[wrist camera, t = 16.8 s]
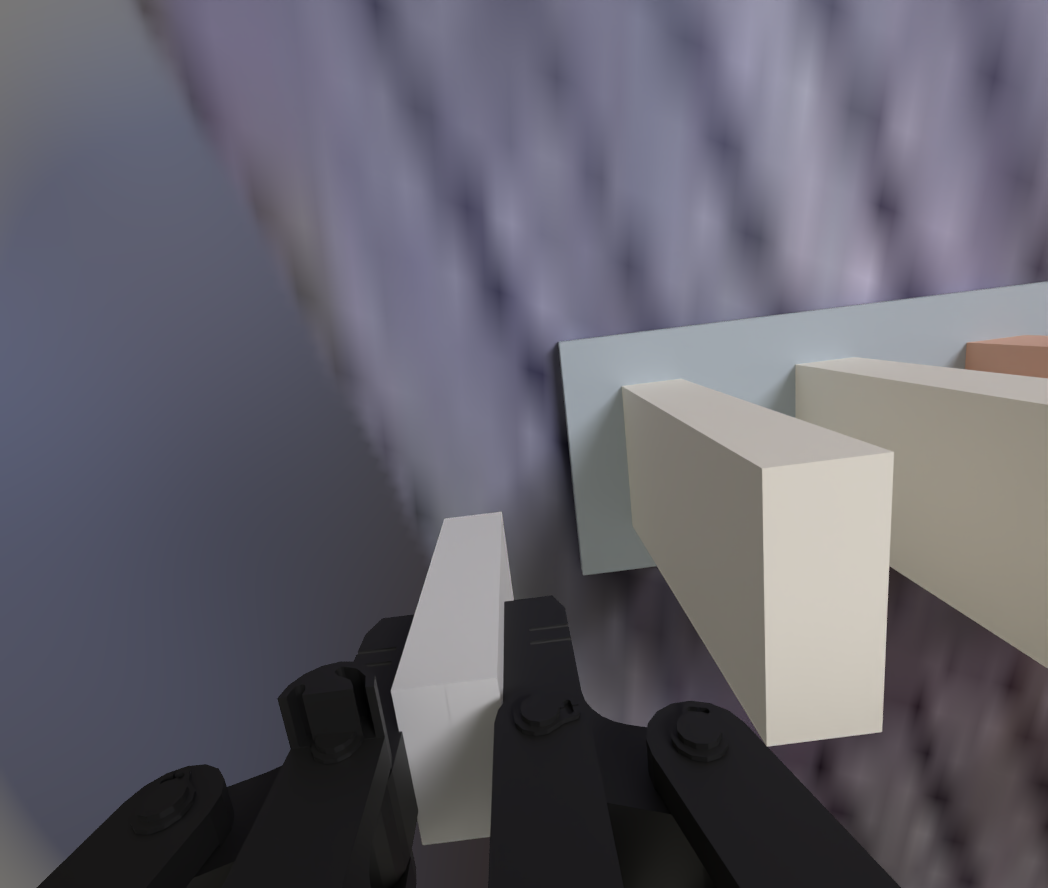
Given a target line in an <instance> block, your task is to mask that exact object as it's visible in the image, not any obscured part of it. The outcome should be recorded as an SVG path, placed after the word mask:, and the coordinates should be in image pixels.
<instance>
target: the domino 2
mask: <svg viewBox="0 0 1048 888" xmlns="http://www.w3.org/2000/svg"><path fill="white" fill-rule="evenodd" d="M965 369H967V370H976V371H985V372H994V373H1003V374H1012V375H1021V376H1030V377H1039V378H1048V336H1042V335H1022V336H1014V337H1006V338H999V339H991V340H983V341H975V342H968V343H967V345H966V360H965Z"/></svg>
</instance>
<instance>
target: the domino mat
mask: <svg viewBox="0 0 1048 888" xmlns="http://www.w3.org/2000/svg"><path fill="white" fill-rule="evenodd" d="M1022 335H1042V336H1048V281H1045V282H1037V283H1029V284H1021V285H1013V286H1005V287H997V288H989V289H980V290H972V291H964V292H956V293H948V294H940V295H932V296H924V297H916V298H908V299H900V300H892V301H884V302H876V303H867V304H859V305H851V306H843V307H835V308H827V309H819V310H811V311H803V312H795V313H787V314H779V315H771V316H762V317H754V318H746V319H738V320H730V321H722V322H714V323H706V324H698V325H690V326H682V327H674V328H666V329H657V330H649V331H641V332H633V333H625V334H617V335H609V336H601V337H593V338H585V339H577V340H569V341H561V342H558V349H559V359H560V368H561V378H562V388H563V397H564V407H565V417H566V426H567V436H568V446H569V455H570V465H571V474H572V484H573V494H574V503H575V513H576V523H577V532H578V542H579V552H580V561H581V570H582V573H583V575H591V574H598V573H606V572H614V571H622V570H630V569H638V568H646V567H654V566H657V565H656V564H655V562H654V560H653V559H652V557H651V556H650V554H649V552H648V551H647V549H646V547H645V546H644V544H643V542H642V541H641V539H640V537H639V536H638V534H637V533H636V531H635V529H634V528H633V526H632V513H631V500H630V487H629V475H628V462H627V449H626V436H625V423H624V410H623V397H622V386H626V385H634V384H642V383H650V382H658V381H666V380H674V379H684V380H687V381H690V382H692V383H695V384H698V385H701V386H704V387H707V388H710V389H713V390H716V391H719V392H722V393H724V394H727V395H730V396H733V397H736V398H739V399H742V400H745V401H748V402H751V403H753V404H756V405H759V406H762V407H765V408H768V409H771V410H774V411H777V412H780V413H782V414H785V415H788V416H791V417H794V418H795V364H803V363H811V362H819V361H827V360H835V359H843V358H851V357H859V358H868V359H877V360H886V361H895V362H904V363H913V364H922V365H931V366H940V367H949V368H958V369H965V360H966V345H967V343H968V342H975V341H983V340H991V339H999V338H1006V337H1014V336H1022Z"/></svg>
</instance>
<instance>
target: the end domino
mask: <svg viewBox="0 0 1048 888" xmlns="http://www.w3.org/2000/svg"><path fill="white" fill-rule="evenodd" d="M622 397H623V410H624V423H625V436H626V449H627V462H628V475H629V487H630V500H631V513H632V526H633V528H634V529H635V531H636V533H637V534H638V536H639V537H640V539H641V541H642V542H643V544H644V546H645V547H646V549H647V551H648V552H649V554H650V556H651V557H652V559H653V560H654V562H655V564H656V565H657V567H658V569H659V570H660V572H661V574H662V575H663V577H664V579H665V580H666V582H667V583H668V585H669V587H670V588H671V590H672V592H673V593H674V595H675V597H676V598H677V600H678V602H679V603H680V605H681V606H682V608H683V610H684V611H685V613H686V615H687V616H688V618H689V620H690V621H691V623H692V625H693V626H694V628H695V630H696V631H697V633H698V634H699V636H700V638H701V639H702V641H703V643H704V644H705V646H706V648H707V649H708V651H709V653H710V654H711V656H712V657H713V659H714V661H715V662H716V664H717V666H718V667H719V669H720V671H721V672H722V674H723V676H724V677H725V679H726V680H727V682H728V684H729V685H730V687H731V689H732V690H733V692H734V694H735V695H736V697H737V699H738V700H739V702H740V703H741V705H742V707H743V708H744V710H745V712H746V713H747V715H748V717H749V718H750V720H751V722H752V723H753V725H754V726H755V728H756V730H757V731H758V733H759V735H760V736H761V738H762V740H763V741H764V743H765V745H766V746H767V747H768V746H775V745H783V744H791V743H799V742H807V741H815V740H823V739H831V738H838V737H846V736H854V735H862V734H870V733H878V732H882V722H883V698H884V675H885V652H886V629H887V605H888V582H889V559H890V536H891V513H892V489H893V466H894V452H893V451H890V450H887V449H884V448H881V447H878V446H875V445H872V444H870V443H867V442H864V441H861V440H858V439H855V438H852V437H849V436H846V435H843V434H841V433H838V432H835V431H832V430H829V429H826V428H823V427H820V426H817V425H814V424H811V423H809V422H806V421H803V420H800V419H797V418H794V417H791V416H788V415H785V414H782V413H780V412H777V411H774V410H771V409H768V408H765V407H762V406H759V405H756V404H753V403H751V402H748V401H745V400H742V399H739V398H736V397H733V396H730V395H727V394H724V393H722V392H719V391H716V390H713V389H710V388H707V387H704V386H701V385H698V384H695V383H692V382H690V381H687V380H684V379H674V380H666V381H658V382H650V383H642V384H634V385H626V386H622Z"/></svg>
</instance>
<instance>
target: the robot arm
mask: <svg viewBox="0 0 1048 888" xmlns="http://www.w3.org/2000/svg"><path fill="white" fill-rule="evenodd" d="M278 702H279V706H280V710H281V714H282V717H283V721H284V725H285V729H286V732H287V736H288V740H289V744H290V748H291V750H290V752H289V754H288V756H287V758H286V760H285V762H284V764H283V765H282V766H280V767H278V768H276V769H274V770H271V771H269V772H267V773H264V774H262V775H259V776H256V777H253V778H251V779H248V780H245V781H242V782H240V783H237V784H235V785H232V786H229V787H226V783H225V780H224V778H223V776H222V774H221V772H220V771H219V769H218V768H215V767H212V766H209V765H196V766H187V767H184V768H181V769H178V770H175V771H173V772H170V773H167V774H165V775H164V776H161V777H160V778H158V779H156V780H154V781H153V782H151V783H149V784H147V785H146V786H144V787H143V788H142V789H140V790H139V791H138V792H137V793H135V794H134V795H133V796H132V797H131V798H129V799H128V800H127V801H125V802H124V803H123V804H122V805H121V806H120V807H119V808H118V809H117V810H116V811H115V812H114V813H113V814H112V815H111V816H110V817H109V818H108V819H107V820H106V821H105V822H104V823H103V824H102V825H101V826H100V827H99V828H97V830H95V831H94V832H93V833H92V834H91V836H89V837H88V838H87V839H86V840H85V841H84V842H83V843H82V844H81V845H80V846H79V847H78V848H77V849H76V850H75V851H74V852H73V853H72V854H71V855H70V856H69V857H68V858H67V859H66V860H65V861H64V862H63V863H62V864H60V865H59V867H57V868H56V869H55V870H54V871H53V872H52V873H51V874H50V875H49V876H48V877H47V878H46V879H45V880H44V881H43V882H42V883H41V884H40V885H39V886H38V887H37V888H416V866H415V861H414V857H413V852H412V844H413V838H414V833H415V827H416V822H417V820H418V826H419V831H420V836H421V840H422V845H428V844H436V843H444V842H452V841H460V840H468V839H475V838H484V837H490V854H489V882H488V883H489V884H488V888H901V887H900V886H899V885H898V884H897V883H896V882H895V881H894V880H893V879H892V878H891V877H890V876H889V875H888V874H887V873H886V872H885V870H884V869H883V868H882V867H881V866H880V865H879V864H878V863H877V862H876V861H875V860H874V859H873V858H872V857H871V856H870V855H869V854H868V853H867V852H866V850H865V849H864V848H863V847H862V846H861V845H860V844H859V843H858V842H857V841H856V840H855V839H854V838H853V837H852V836H851V835H850V834H849V833H848V831H847V830H846V829H845V828H844V827H843V826H842V825H841V824H840V823H839V822H838V821H837V820H836V819H835V818H834V817H833V816H832V815H831V814H830V813H829V811H828V810H827V809H826V808H825V807H824V806H823V805H822V804H821V803H820V802H819V801H818V800H817V799H816V798H815V797H814V796H813V795H812V794H811V792H810V791H809V790H808V789H807V788H806V787H805V786H804V785H803V784H802V783H801V782H800V781H799V780H798V779H797V778H796V777H795V776H794V775H793V773H792V772H791V771H790V770H789V769H788V768H787V767H786V766H785V765H784V764H783V763H782V762H781V761H780V760H779V759H778V758H777V757H776V756H775V755H774V753H773V752H772V751H771V750H770V749H769V748H768V747H767V746H766V745H765V744H764V743H763V742H762V741H761V740H760V739H759V738H758V737H757V736H756V734H755V733H754V732H753V731H752V730H751V729H750V728H749V727H748V726H747V725H746V724H745V723H744V722H743V721H741V720H740V719H739V718H738V717H736V716H735V715H734V714H732V713H731V712H730V711H728V710H726V709H723V708H721V707H718V706H715V705H713V704H710V703H704V702H695V701H686V702H680V703H673V704H670V705H668V706H667V707H665V708H663V709H661V710H659V711H657V712H656V714H655V715H654V716H653V717H652V719H651V720H650V721H649V723H648V727H640V726H633V725H626V724H622V723H618V722H614V721H611V720H609V719H607V718H605V717H602V716H601V715H599V714H598V713H597V712H595V711H594V710H593V709H591V707H590V706H589V705H588V704H587V702H586V701H585V700H584V697H583V694H582V692H581V687H580V682H579V677H578V672H577V667H576V662H575V657H574V652H573V647H572V642H571V637H570V632H569V627H568V622H567V617H566V612H565V608H564V607H563V606H562V605H561V604H560V603H559V602H558V601H557V600H556V599H555V598H554V597H553V596H545V597H537V598H529V599H521V600H514V597H513V590H512V583H511V575H510V568H509V561H508V553H507V546H506V539H505V532H504V524H503V517H502V512H495V513H487V514H479V515H471V516H463V517H455V518H447V519H444V522H443V525H442V528H441V532H440V535H439V538H438V541H437V544H436V548H435V551H434V554H433V557H432V560H431V564H430V567H429V570H428V573H427V577H426V580H425V583H424V586H423V589H422V592H421V596H420V599H419V602H418V605H417V608H416V612H415V615H407V616H399V617H391V618H383V619H381V620H380V621H379V622H378V623H377V624H376V625H375V626H374V627H373V628H372V629H371V630H370V631H369V632H368V633H367V634H366V635H365V637H364V639H363V642H362V644H361V646H360V648H359V651H358V655H356V657H355V660H354V662H337V663H333V664H329V665H325V666H321V667H319V668H317V669H315V670H313V671H310V672H308V673H306V674H304V675H303V676H301V677H300V678H298V679H297V680H296V681H294V682H293V683H291V684H290V685H289V686H288V687H287V688H286V689H285V690H284V691H283V692H282V694H281V695H280V696H279V697H278Z"/></svg>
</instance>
